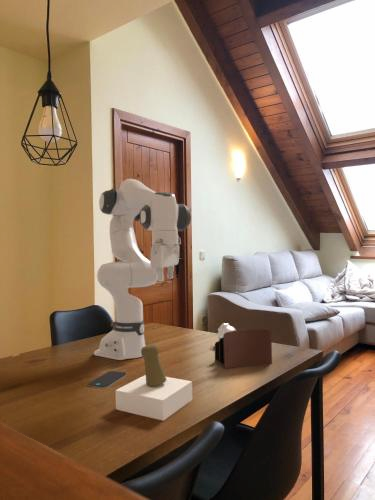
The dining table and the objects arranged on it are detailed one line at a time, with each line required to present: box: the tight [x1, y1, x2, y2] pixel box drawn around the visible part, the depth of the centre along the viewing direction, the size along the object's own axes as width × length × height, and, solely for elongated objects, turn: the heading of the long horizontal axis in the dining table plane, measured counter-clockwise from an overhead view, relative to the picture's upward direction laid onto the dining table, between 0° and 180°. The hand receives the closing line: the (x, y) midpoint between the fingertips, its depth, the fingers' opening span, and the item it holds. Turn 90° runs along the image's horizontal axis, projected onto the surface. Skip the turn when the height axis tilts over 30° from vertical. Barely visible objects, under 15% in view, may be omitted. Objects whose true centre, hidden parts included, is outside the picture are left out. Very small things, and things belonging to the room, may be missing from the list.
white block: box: [115, 374, 193, 422], centre depth 120 cm, size 16×16×6 cm
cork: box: [141, 343, 167, 386], centre depth 121 cm, size 6×6×11 cm
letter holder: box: [214, 327, 273, 370], centre depth 159 cm, size 10×20×14 cm, turn 108°
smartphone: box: [87, 370, 127, 389], centre depth 142 cm, size 8×1×15 cm
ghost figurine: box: [216, 322, 237, 340], centre depth 184 cm, size 9×10×10 cm
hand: (165, 279), depth 141 cm, fingers open, 8 cm apart
